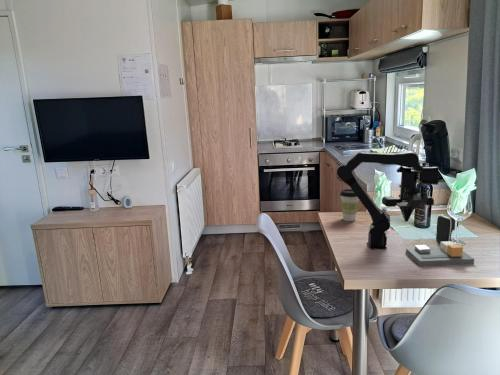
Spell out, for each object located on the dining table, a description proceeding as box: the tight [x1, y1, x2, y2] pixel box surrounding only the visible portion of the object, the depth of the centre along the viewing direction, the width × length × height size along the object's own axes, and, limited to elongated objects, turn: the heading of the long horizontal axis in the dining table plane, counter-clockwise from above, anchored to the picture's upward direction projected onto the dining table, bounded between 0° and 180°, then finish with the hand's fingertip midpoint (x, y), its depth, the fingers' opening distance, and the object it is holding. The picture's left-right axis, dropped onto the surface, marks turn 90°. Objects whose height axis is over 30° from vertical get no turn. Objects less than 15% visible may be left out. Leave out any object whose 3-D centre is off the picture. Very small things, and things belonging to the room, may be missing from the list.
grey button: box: [414, 244, 431, 254], centre depth 146 cm, size 4×4×3 cm
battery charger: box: [435, 214, 456, 242], centre depth 158 cm, size 7×4×11 cm, turn 15°
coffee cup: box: [339, 188, 360, 222], centre depth 191 cm, size 10×10×15 cm
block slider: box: [447, 243, 464, 257], centre depth 140 cm, size 4×3×4 cm
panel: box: [405, 246, 475, 267], centre depth 143 cm, size 20×12×2 cm, turn 91°
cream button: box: [439, 240, 455, 253], centre depth 146 cm, size 4×4×3 cm
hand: (406, 221), depth 150 cm, fingers closed
